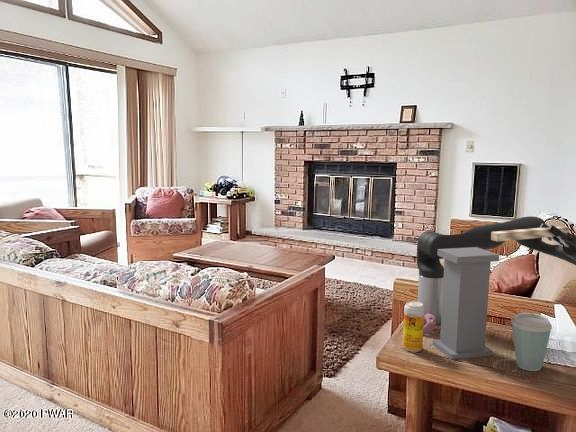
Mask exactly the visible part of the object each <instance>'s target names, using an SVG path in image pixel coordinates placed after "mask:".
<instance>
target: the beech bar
mask: <svg viewBox="0 0 576 432" xmlns="http://www.w3.org/2000/svg"><path fill="white" fill-rule="evenodd" d="M554 226H555V225H554ZM549 227H550V226H549ZM549 227H544V228H531V229H520V230H508V231H496V232H491V240H494V241H497V242H499V241H506V242H508V241H516V240H521V239H532V238H542V239H543V238H546V237H554V236H555V235H553V234H552V233H550V232H549V231H548V229H549ZM555 227H556V228H558V229H559V230H563V231H564V232H569V233H570V227H569V226H563V225H557V226H555Z"/></svg>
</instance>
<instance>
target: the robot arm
mask: <svg viewBox="0 0 576 432" xmlns="http://www.w3.org/2000/svg"><path fill="white" fill-rule="evenodd" d="M544 227H549V229H548V231H549V232H550V233H552V234H553V235H555V236H554V237H545V238H546V239H547V240H548V241H550V242H552V241H553V242H555V243H557V244H550V243H547V242H545V241H543V238H532V239H521V240H515V241H516V242H517V243H518V244H519V245H521V246H523V247H525V248H528V249H530V250H534V251H536V252H539V253H542V254H546V255H547V256H552V257H555V258H558V259H560V260H563V261H565V262H567V263H570V264H571V265H574V266H576V234H575V235H574V234H573V233H570V231H569V232H564V231H563V230H559V229H558V228H556V227H555V225H553V224H550V225H548V224H546V222H545V220H544V219H542V218H541V217H538V216H532V215H531V216H530V215H529V216H524V217H519V218H516V219H515V218H514V219H512V220H507V221H503V222H498V223H491V224H484V225H482V224H481V225H477V226H473V227H471V228H468V229H467V230H465V231H463V232H461V233H457V234H443V233H439V232H435V231H432V230H426V231H424V232H422V233H421V234H420V235H419V237H418V239H417V243H416V266H417V268H418V285H417V302H420V303H422V304H423V306H424V316H425V315H426V314H428V313H429V314H432V315H434V316H435V322H436V325H437V324H441V315H442V296H443V278H444V265H443V264H442V262H441V260H442V259H444V258H443V257H440V256H438V255H437V251H438V249H449V248H469V247H478V248H481V249H484V250H487V251H489V250H492V249H496V248H497V247H500V246H502V245H503V244H504V243H506V242H507V241H499V242H497V241H494V240H491V232H496V231H508V230H520V229H531V228H544Z"/></svg>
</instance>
